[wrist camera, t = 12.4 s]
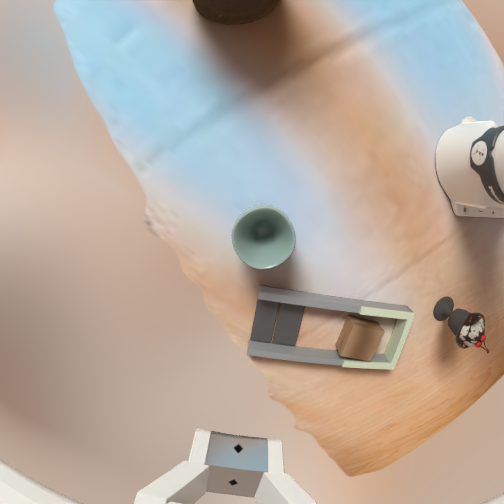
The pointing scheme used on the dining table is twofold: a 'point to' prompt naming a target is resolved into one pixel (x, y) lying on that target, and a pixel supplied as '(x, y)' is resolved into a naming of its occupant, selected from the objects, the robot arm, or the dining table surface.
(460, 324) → the sundae
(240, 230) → the cup
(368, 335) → the block
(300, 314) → the box
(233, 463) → the robot arm
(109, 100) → the dining table surface
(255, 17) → the wooden container
